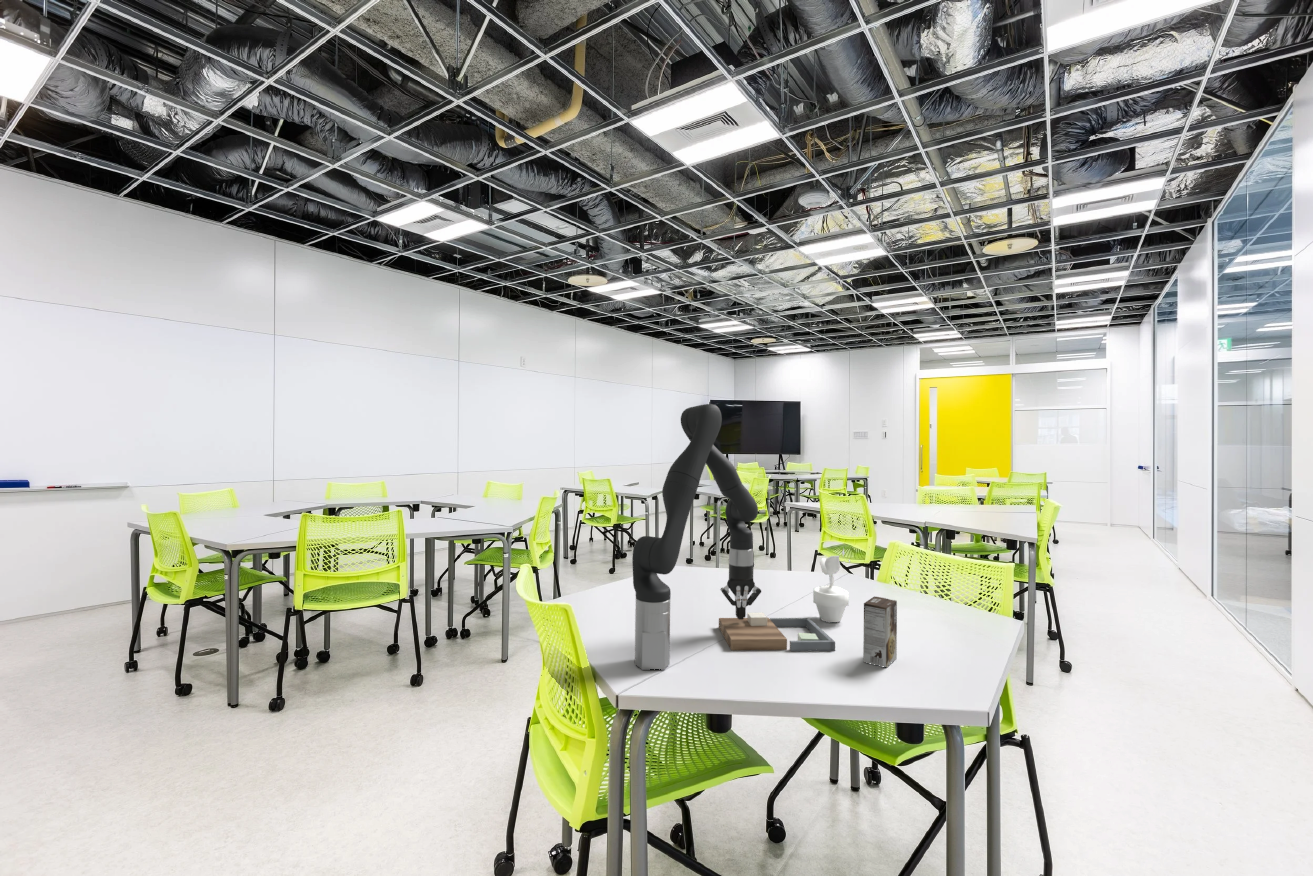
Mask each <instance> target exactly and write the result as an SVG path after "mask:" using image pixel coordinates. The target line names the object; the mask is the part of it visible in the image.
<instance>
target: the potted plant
mask: <svg viewBox="0 0 1313 876" xmlns="http://www.w3.org/2000/svg"><path fill="white" fill-rule="evenodd" d="M841 554H842V557H844V555H845V554H846V553H845V549H844V547H843V548H842V551H841ZM847 561H848V564H850V563H851V560H850V557H849V558H848V560H847ZM842 563H843V565H845V564H846V562H845V561H842ZM819 565H820V568H821V571H822V573H823V574H824V575H826V576H829V578H828V579H829V584H828V585H821V586H820V585H819V586H817V587H814V588H813V590H812V591H813V593H812V594H813V595H812V596H813V600H812V601H813V604H815V605H816V609H817V611H818V612H817V613H818V615H819V619H820V620H821V621H823V622H825V621H826V622H825V623H830V622H837V623H840V622H841V620H842V618H843V615H844V613H845V610H846V607H848V606H849V603H850V602H849V600H850V599H849V598H850V597H849V595H850V593H849V591H848V590H846V589H844V588H842V587H839V586H835V576H834V575H835V574H837V573H838V572H839V571H840V568H841V561H840V555H831V556H829V557H827V558H826V557H822V558H820V559H819Z"/></svg>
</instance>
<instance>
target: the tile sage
mask: <svg viewBox="0 0 1313 876" xmlns="http://www.w3.org/2000/svg"><path fill="white" fill-rule="evenodd" d="M797 633H798V634H797V641H818V640H819V639H818V637H817V636H816V634H813V633H812V632H811V633H809V632H797Z"/></svg>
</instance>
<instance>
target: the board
mask: <svg viewBox="0 0 1313 876" xmlns="http://www.w3.org/2000/svg"><path fill="white" fill-rule="evenodd" d="M718 629H719V631H720V632H721V634H722V636H723V638H724V639H725V641H726V643H727V645H728V647H729V649H730V651H772V650H775V651H781V650H783V651H784V650H785V651H788V638H787V637H786V636H785V635H784V634H783V633H782V631H781V630H780V629H779V627H776V626H775V625H774V624H773V622H772V621H771V620H770V617H767V626H751V625H750V624H749V622H748V621H747V617H745V618H744V619H741V620H739V619H738V618H737V617H719V618H718Z"/></svg>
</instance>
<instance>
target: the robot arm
mask: <svg viewBox="0 0 1313 876" xmlns="http://www.w3.org/2000/svg"><path fill="white" fill-rule="evenodd" d="M722 417H723V416H722V412H721V410H720V408H719V407H718V406H717V405H716V404H713V403H705V404H704V403H703V404H700V405H696V406H691V407H688V408H686V409H684V410H682V413H681V416H680V425H681V428H682V431H683V432H684V434H685V436H686V437H687V438H688V440H689V441H690V442H689V444H688V445H687V446H686V447H685V449H684V450H683V451H682V452H681V453H680V455H679V456H678V457H677V458H676V459H675V461H674V462H673V463H672V465H671V466H670V468H668V469H669V470H668V472H667V474H666V477H665V481H664V483H663V487H662V494H661V495H662V501H663V505H664V510H665V514H666V515H665V516H666V521H665V527H664V531H663V534H662V536H661V537H657V536H650V535H649V536H648V535H644V536H640V537H639V538H638V539H637V540H636V541H635V543H634V546H633V549H632V550H633V551H632V557H631V558H632V559H631V560H632V584H633V585H632V586H633V589H634V591H635V612H634V613H635V614H634V616H635V618H634V619H635V621H634V622H635V623H634V628H635V629H634V664H636V665H637V666H636V665H635V666H636V667H638V666H639V667H638V668H640V670H641V671H651V670H650V669H654V670H653V671H655V669H659V670H660V669H661V670H662V671H663V670H666V668H667V667H669V665H670V663H671V661H670V659H671V656H670V655H671V653H670V652H671V650H670V649H671V646H670V645H671V595H672V594H671V588H670V586H669V585H667V584H666V583H665V582H664V581H663V580H661V578H660V577H659V575H668V574H670V573H671V572H673V570H674V569H675V566H676V565H677V561H678V559H679V555H680V552H681V546H682V542H683V538H684V533H685V529H686V525H687V521H688V519H689V515H690V511H691V508H692V505H693V502H694V501H695V497H696V494H697V490H698V487H699V485H700V481H701V478H702V475H703V472H704V469H705V466H707V467H708V469H709V471H710V473H711V475H712V476H713V479H714V481H715V483H716V485H717V488H718V489H719V491H720V493H721V494H722V496H723V497H725V498H727V499H729V500H728V501H727V503H726V506H725V518H726V524H727V528H728V531H729V534H730V535H729V553H728V580H727V583H726V585H725V586H724V587H720V589H719V590H720V591H721V593H722V594H723V596H724V597H725V598H726V600H727V601H728V603H730V605H731V606H734V607H735V618H738V619H739V620H741V619H744V618H746V616H747V614H746V611H747V607H748V606H752V605H753V604H754V602H755V601H756V600H757V598H759V596H760V595H761V593H762V589H761V588H760V587H759V586H757V585H756V584H755V581H754V557H755V556H754V549H753V548H754V545H753V544H754V539H753V538H754V535H753V531H752V530H751V529H750V528H748V527H747V526H746V523H750V522H751V523H752V522H753V521H755V520H756V519H757V517H758V514H759V507H758V504H757V501H756V500H755V498H754V496H752V494H751V492H749V490H748V488H747V487H745V486H744V484H743V483H742V480H741V478H740V476H739V474H738V472H737V469H736V468H735V466H734V464H733V463H732V462H731V461H730V460H729V458H728V457H727V456H725V454H723V453H722V452H721V451H720V450H719V449H718V448H717V447H716V446H715V445H714V444H715V442H716V439H717V437H718V435H719V432H720V431H721V427H722V421H723V418H722ZM745 522H746V523H745ZM730 591H731V593H732V594H733V595H734V600H733V598H732V597H731V596H730V594H729V593H730ZM750 593H751V594H750ZM661 670H660V671H661Z"/></svg>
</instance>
